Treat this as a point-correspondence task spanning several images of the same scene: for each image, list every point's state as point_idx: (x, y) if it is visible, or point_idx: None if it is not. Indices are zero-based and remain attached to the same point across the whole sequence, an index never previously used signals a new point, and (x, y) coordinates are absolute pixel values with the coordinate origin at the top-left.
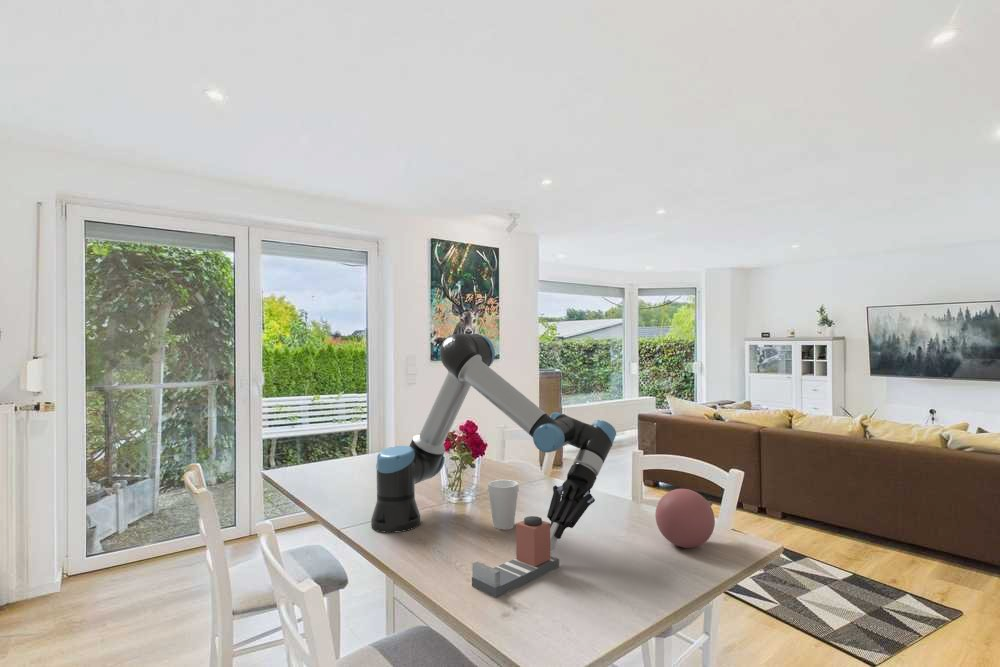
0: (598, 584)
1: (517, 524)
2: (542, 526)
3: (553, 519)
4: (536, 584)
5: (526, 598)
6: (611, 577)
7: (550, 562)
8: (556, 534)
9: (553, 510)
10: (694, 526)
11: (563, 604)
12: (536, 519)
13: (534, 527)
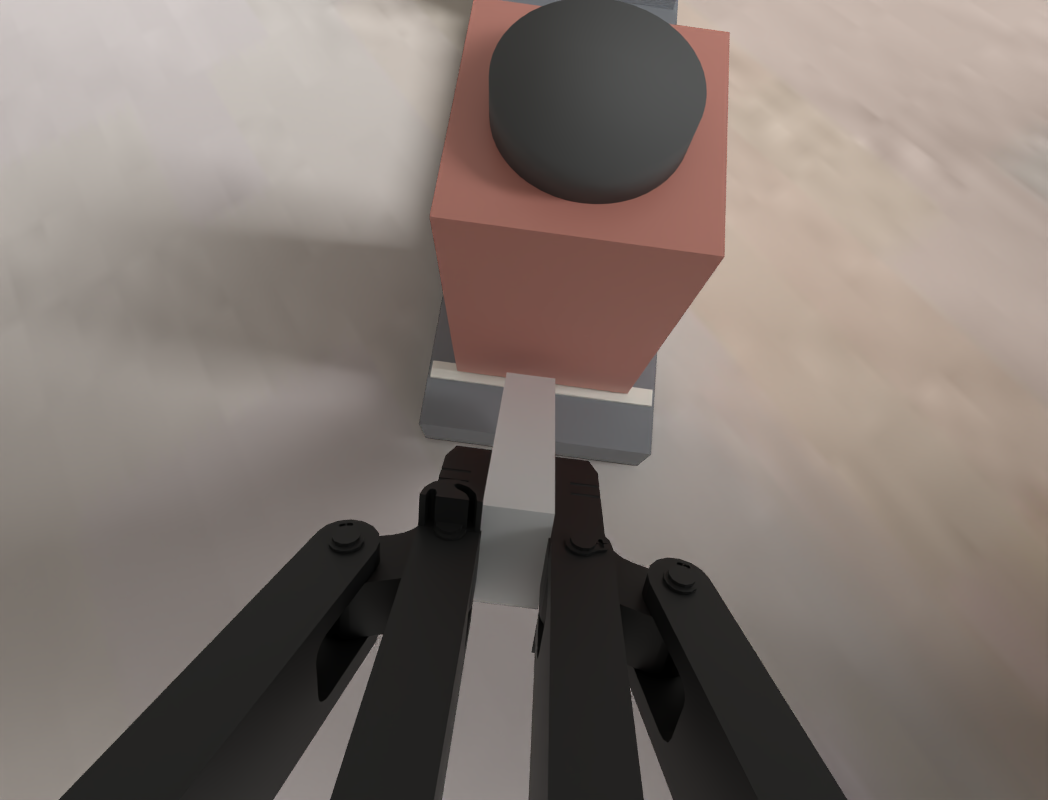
0: (100, 367)
1: (707, 38)
2: (452, 107)
3: (574, 537)
4: (419, 185)
5: (382, 58)
6: (46, 504)
7: (437, 340)
8: (467, 454)
9: (686, 689)
10: None
11: (199, 96)
12: (556, 89)
13: (495, 28)
